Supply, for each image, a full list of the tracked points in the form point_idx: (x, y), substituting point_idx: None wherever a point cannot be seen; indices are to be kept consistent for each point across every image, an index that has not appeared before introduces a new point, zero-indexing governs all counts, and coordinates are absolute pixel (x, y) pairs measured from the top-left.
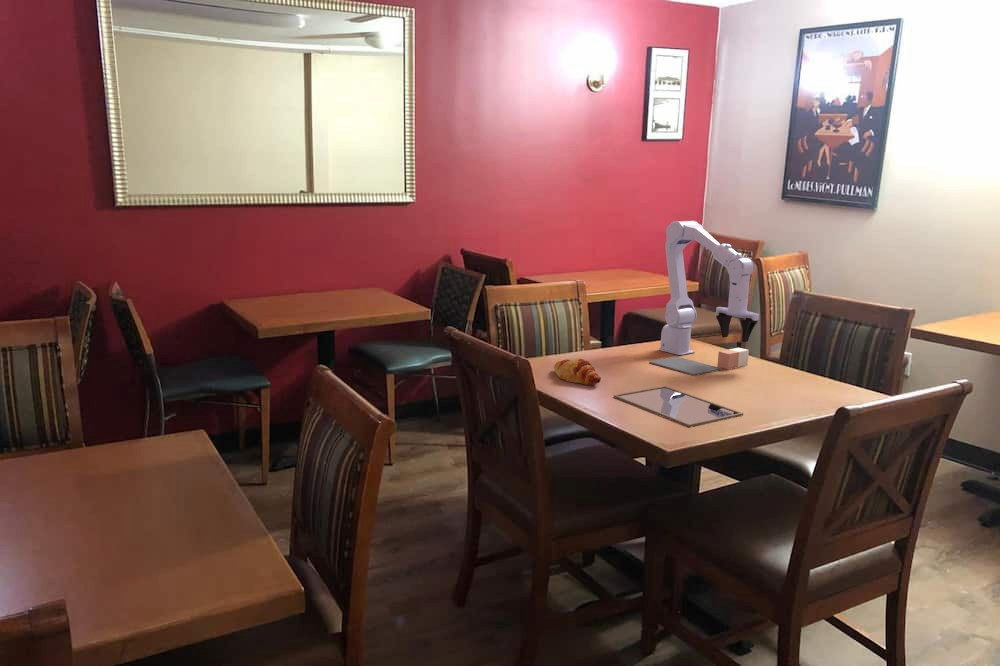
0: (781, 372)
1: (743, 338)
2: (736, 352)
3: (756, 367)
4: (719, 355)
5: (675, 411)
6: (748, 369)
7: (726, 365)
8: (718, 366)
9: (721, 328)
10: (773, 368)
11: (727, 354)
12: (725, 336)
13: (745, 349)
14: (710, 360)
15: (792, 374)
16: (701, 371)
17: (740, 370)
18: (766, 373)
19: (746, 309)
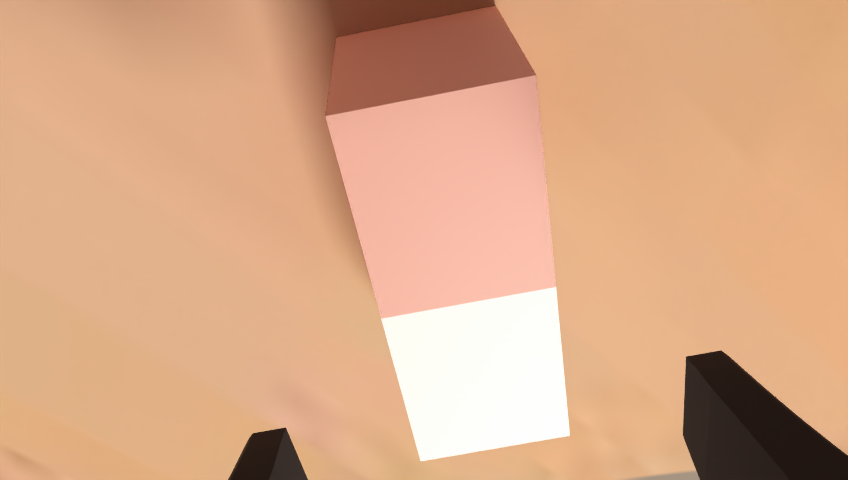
0: (96, 426)
1: (238, 476)
2: (373, 275)
3: (313, 356)
4: (502, 58)
5: None
6: (270, 250)
7: (361, 47)
8: (480, 11)
9: (825, 466)
10: (237, 446)
11: (356, 104)
12: (691, 403)
13: (458, 448)
14: (747, 136)
15: (16, 457)
16: None
17: (258, 150)
18: (83, 303)
19: None
